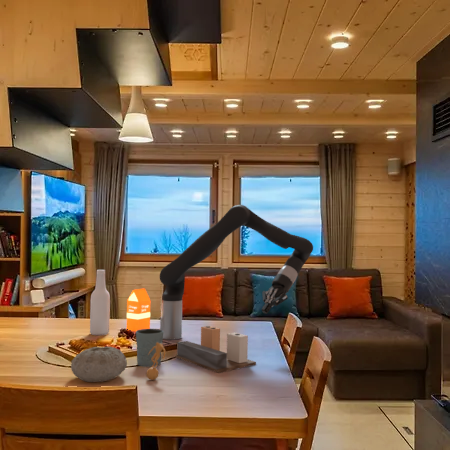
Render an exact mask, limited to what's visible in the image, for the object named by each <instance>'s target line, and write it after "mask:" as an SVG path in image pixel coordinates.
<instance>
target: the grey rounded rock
mask: <svg viewBox="0 0 450 450" xmlns="http://www.w3.org/2000/svg"><path fill="white" fill-rule="evenodd" d="M127 361H128V360H127V358H126V356H125V355H124V353H123V352H122V350H121V349H119V348H116V346H115V347H112V346H93V347H89V348H86V349H84V350H82V351H81V352H80V353H78V354H76V355H75V357H74V358H73V359H72V360H71V365H70V369H71V372H72V374H74V376H75V377H76V378H78V379H79V380H81V381H83V382H87V383H95V382H100V383H101V382H106V381H110V380H113V379H115V378H117V377H118V376H120V375H121V374H122V373H123V372H124V371H125V370H126V368H127V367H128V362H127Z"/></svg>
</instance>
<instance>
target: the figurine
mask: <svg viewBox="0 0 450 450" xmlns="http://www.w3.org/2000/svg"><path fill="white" fill-rule="evenodd" d="M154 348H156V353H154V356H153V357H152V358H151V360H152V362H153V363H154V364H153V365H152V367H148V369H147V371H146V374H145V375H146V378H147V379H148V380H149V381H155V380H157V379H158V377H159V370H158V369H157V367H158V366H159V365H158V362H157V360H158V359H159V357H160V352H161V353H162V351H163V356H162V358H161V361H165V359H166V352H167V351H166V349H165V347H164V344H163V343H162V344H160V343H158V342H157V343H156V346H154V347H153V348H152V349H151V350H150V352H151V351H152V350H153V349H154ZM150 352H149V353H150ZM148 355H149V354H148ZM154 359H155V361H154ZM155 362H156V366H154V365H155ZM157 365H158V366H157Z"/></svg>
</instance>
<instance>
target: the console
mask: <svg viewBox="0 0 450 450" xmlns="http://www.w3.org/2000/svg"><path fill="white" fill-rule="evenodd" d="M176 345H177V347H176V348H177V354H175V358H176V359H179V360H181V361H184V362H186V363H191V364H192V365H196V366H197V367H201V368H203V369H206V370H209V371H212V372H215V373H218V374H221V373H224V372H229V371H235V370H238V369H242V368H247V367H251V366H257V361H254V360H250V359H248V358H247V362H243V363H237V362H234V361H231V360H228V359H227V352H226V351H222V350H220V351H218V350H215V349H212V348H208V347H205V346H202V345H201V344H198V343H195V342H192V341H189V340H184V341H179V342H178V341H177V344H176Z"/></svg>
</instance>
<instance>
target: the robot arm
mask: <svg viewBox="0 0 450 450" xmlns="http://www.w3.org/2000/svg"><path fill="white" fill-rule="evenodd" d="M242 226H244V227H247V228H248V229H251V230H253V231H255V232H257V233H258V234H259V235H261V236H262V237H264V239H267V240H268V241H269V242H271V243H272V244H274V245H276V246H277V247H280V248H282V249H285V250H287V249H289V248H291V249H292V250H293V251H292V253H291V254H290V256H289V257H288V258H287V259H286V261H285V263H284V264H283V265H282V267H281V268H280V270H278V272H277V273H276V275H275V276H274V279H272V281H271V286H270V287H269V288H268V290H266V291H265V290H263V291H262V292H261V293H262V302H264V304H263V306H262V307H261V312H262V313H263V314H268V313H269V312H270V311H271V309H272V308H273V307H274V306H275V307H277V306H279V305H281V304H282V303H284V302H285V301H287V300H288V299H289V297H288V295H287V294H288V293H289V290H290V289H291V288H292V286H293V284H295V283H294V282H296V280H297V277H298V275H299V274H300V272H301V270H302V268H303V267H304V265H305V263H306V262H307V261H308V260H309V258H310V256H311V254H312V252H313V251H314V245H313V243H312V242H311V241H310V240H309V239H308V238H305V237H302V236H300V235H299V236H298V235H295V234H291V233H289V232H288V231H286V230H284V229H282V228H280V227H278V226H277V225H274V224H273V223H271V222H269V221H266V219H264V218H262V217H260V216H259V215H258V214H256V213H255V212H253V211H252V210H251V209H250V208H249V207H247V206H246V205H244V204H236V205H234V206H232V207H230V208H229V210H227V212H226V213H225V214H224V215H223V216H222V217H221V218H220V220H219V221H218V222H217V223H215V224H214V225H213V226H212V227H211V226H210V228H209V229H207V230H206V231H205V232H203V233H202V234H200V236H199V237H198V238H197V239H195V240H194V241H193V242H192V243H191V244H190V245H188V247H187V248H186V249H185V250H184V251H183V252H181V254H179V256H178V257H176V258H175V259H174V260H172V261H171V262H169V263H167V265H165V266H164V267H163V268H162V269H161V271H160V273H159V281H160V283H162V284H163V285H164V286H165V289H164V292H163V293H162V295H161V304H162V317H161V316H160V319H159V320H160V321H159V323H160V324H159V325H160V326H159V328H160V330H163V340H170V341H171V340H180V339H181V338H182V335H183V331H182V330H183V329H182V328H183V296H184V293H185V282H186V281H185V280H186V275H185V273H187V271H189V270H190V269H191V268H193V267H194V266H196V265H198V264H199V263H201V262H203V261H204V260H205V259H207V258H208V257H209V256H211V255H212V254H213V253H214V252H216V250H217V249H218V248H219V247H220V246H221V245H222V243H223V242H224V241H225V239H226V238H227V237H228V236H230V235H231V234H232V233H233V232H234V231H236V230H237V229H239V228H240V227H242Z"/></svg>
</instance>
